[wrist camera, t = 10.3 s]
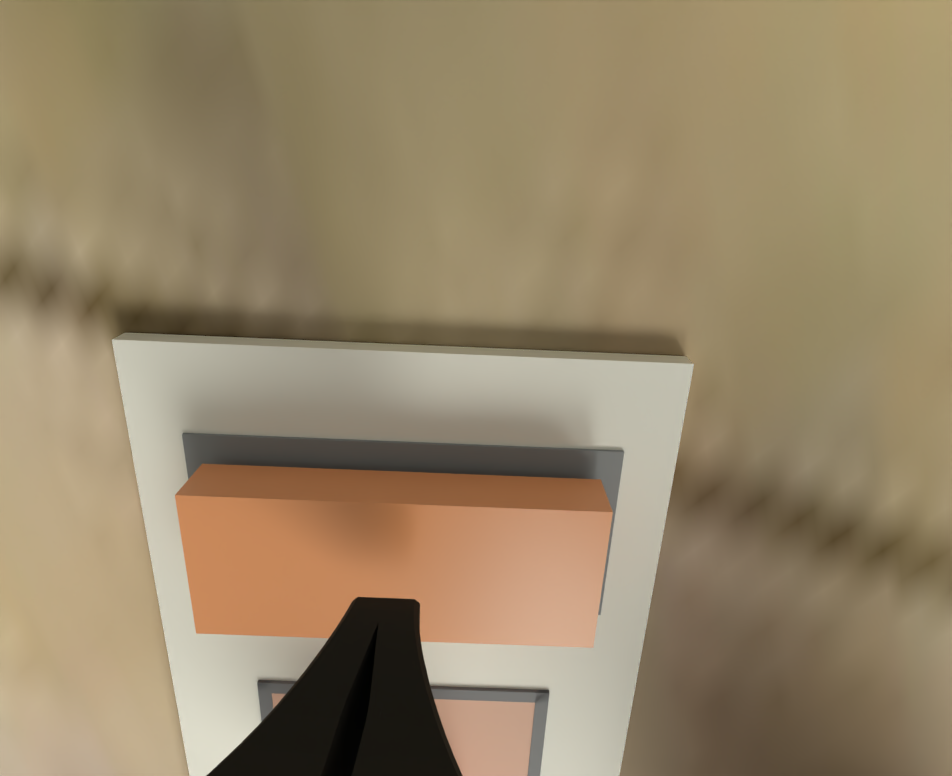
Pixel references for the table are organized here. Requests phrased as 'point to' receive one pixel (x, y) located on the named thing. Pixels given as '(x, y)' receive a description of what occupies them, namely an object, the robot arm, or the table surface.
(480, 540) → the button
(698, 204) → the table surface
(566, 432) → the picture board
